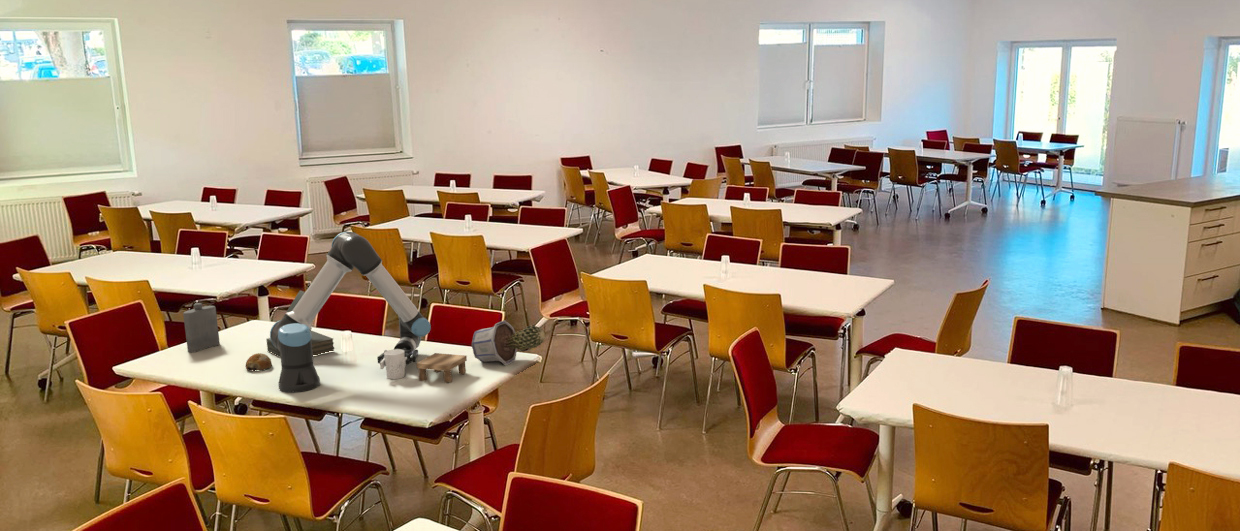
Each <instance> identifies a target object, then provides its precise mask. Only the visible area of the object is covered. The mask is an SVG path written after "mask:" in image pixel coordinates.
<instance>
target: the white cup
mask: <svg viewBox="0 0 1240 531" xmlns="http://www.w3.org/2000/svg"><path fill="white" fill-rule="evenodd" d="M384 351H385V350H384ZM384 351H383V353H384V359H385V371H386V378H387V379H389V380H398V379H402V378H404V377H405V372H406V371H405V370H406V367H405V368H404V369H402V361H403V359H404V358H405V351H404V350H401V349H394V348H393V349H388V350H387V351H385V352H384Z"/></svg>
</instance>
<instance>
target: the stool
mask: <svg viewBox="0 0 1240 531" xmlns="http://www.w3.org/2000/svg"><path fill="white" fill-rule="evenodd" d="M466 362H467V355H461V354H449V353H440V352H439V353H437V352H435V353H433V354H431V355H429V356H427V357H425V358H423V359H421V360H420V361H418V362H416V369H418V375H419V376H418V378H419V381H422V382H425V381H427V379H428V377H427V375H428V374H427V370H432V371H433V372H434V373H439V372H440V373H441V372H442V371H443V378H444V383H445V382H447V383H446V384H449V383H448V382H450V383H452V382H453V378H452V370H453V369H455V368H457V367H458V375H465V374H466V373H467V371H466ZM464 373H465V374H464ZM424 380H425V381H424ZM451 381H452V382H451Z"/></svg>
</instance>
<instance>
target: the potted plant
mask: <svg viewBox="0 0 1240 531" xmlns="http://www.w3.org/2000/svg"><path fill="white" fill-rule="evenodd" d="M545 338H546V334H545V332H544V329H542V328H541V327H539V326H537V325H534V324H532V325H531V324H530V325H528V326H526V327H524V328H523V329H521V330H517V331H515V328H514V327H513V326H512V325H511V324H510V322H507V320H505V319H504V320H502V321H499V322H497V323H495V324H494V325H493V326H492V327H487V328H481V329H478V330H475V331H474V333H473V336H472V341H471V349H472V352H473V356H474V358H475V359H477V360H478V361H479V362H481V363H485V362H501V363H502V364H503V365H505V366H507V365H510V364H511V363H513V362H514V361H515V360H516V357H517V353H518V351H525V350H527V349H533V348H534V349H535V348H537V347H538V346H541V345H542V344H543V343H544V342H545Z"/></svg>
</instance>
